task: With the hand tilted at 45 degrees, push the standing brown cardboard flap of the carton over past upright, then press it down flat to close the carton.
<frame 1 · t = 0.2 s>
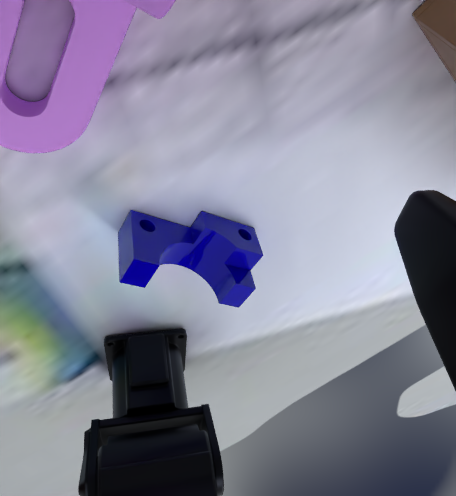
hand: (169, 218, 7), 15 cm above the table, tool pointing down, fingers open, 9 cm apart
cable holder: (188, 228, 28), on the table
bracket: (52, 0, 18), on the table
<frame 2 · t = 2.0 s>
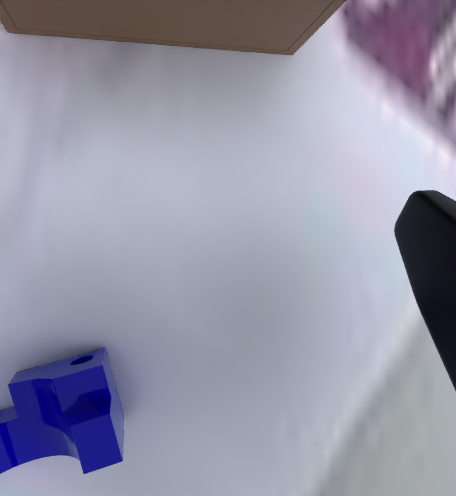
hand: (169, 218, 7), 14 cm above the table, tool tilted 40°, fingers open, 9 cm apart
cable holder: (28, 406, 20), on the table
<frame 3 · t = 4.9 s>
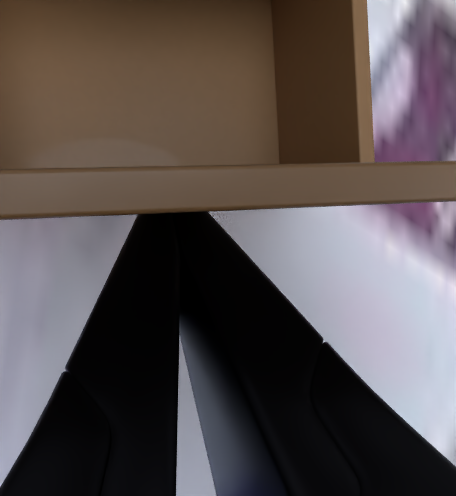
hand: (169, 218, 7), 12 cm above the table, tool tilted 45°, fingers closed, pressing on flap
carton: (135, 35, 19), on the table
flap: (167, 187, 7), point 12 cm above the table, hinge at 97.4°, touching gripper
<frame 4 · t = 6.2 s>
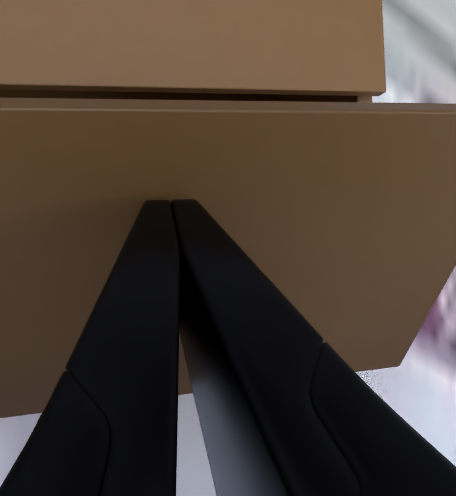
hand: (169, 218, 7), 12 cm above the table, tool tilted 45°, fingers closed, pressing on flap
carton: (142, 156, 19), on the table
flap: (167, 284, 9), point 10 cm above the table, hinge at 38.6°, touching gripper
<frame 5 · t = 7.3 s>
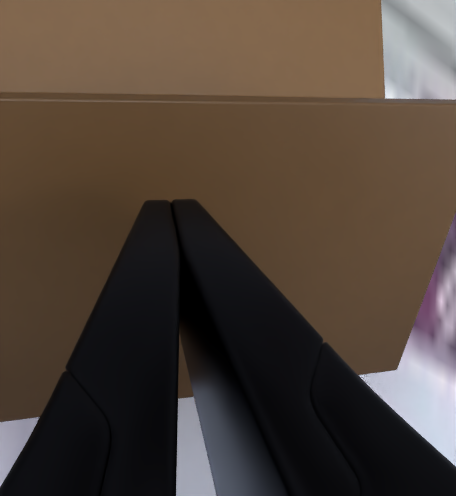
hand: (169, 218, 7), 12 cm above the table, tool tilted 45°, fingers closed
carton: (142, 158, 19), on the table
flap: (165, 276, 9), point 10 cm above the table, hinge at 30.5°
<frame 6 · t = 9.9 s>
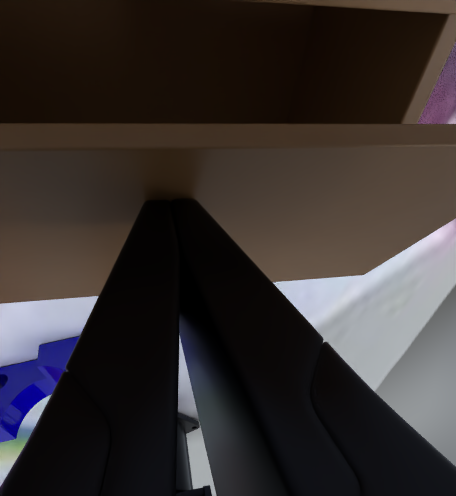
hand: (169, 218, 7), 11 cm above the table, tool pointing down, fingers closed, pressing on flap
cable holder: (50, 355, 29), on the table
flap: (163, 237, 9), point 10 cm above the table, hinge at 23.9°, touching gripper
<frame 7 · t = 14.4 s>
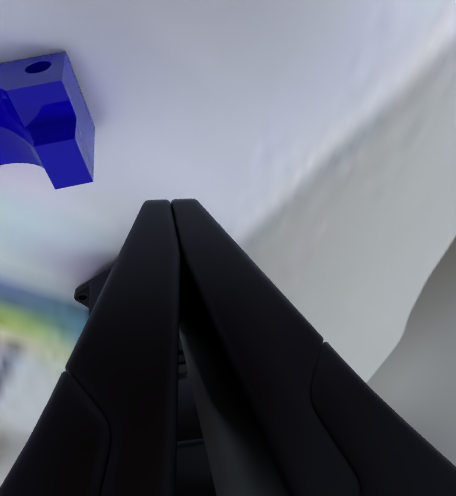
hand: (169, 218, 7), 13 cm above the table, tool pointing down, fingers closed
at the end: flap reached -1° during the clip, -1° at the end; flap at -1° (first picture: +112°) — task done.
